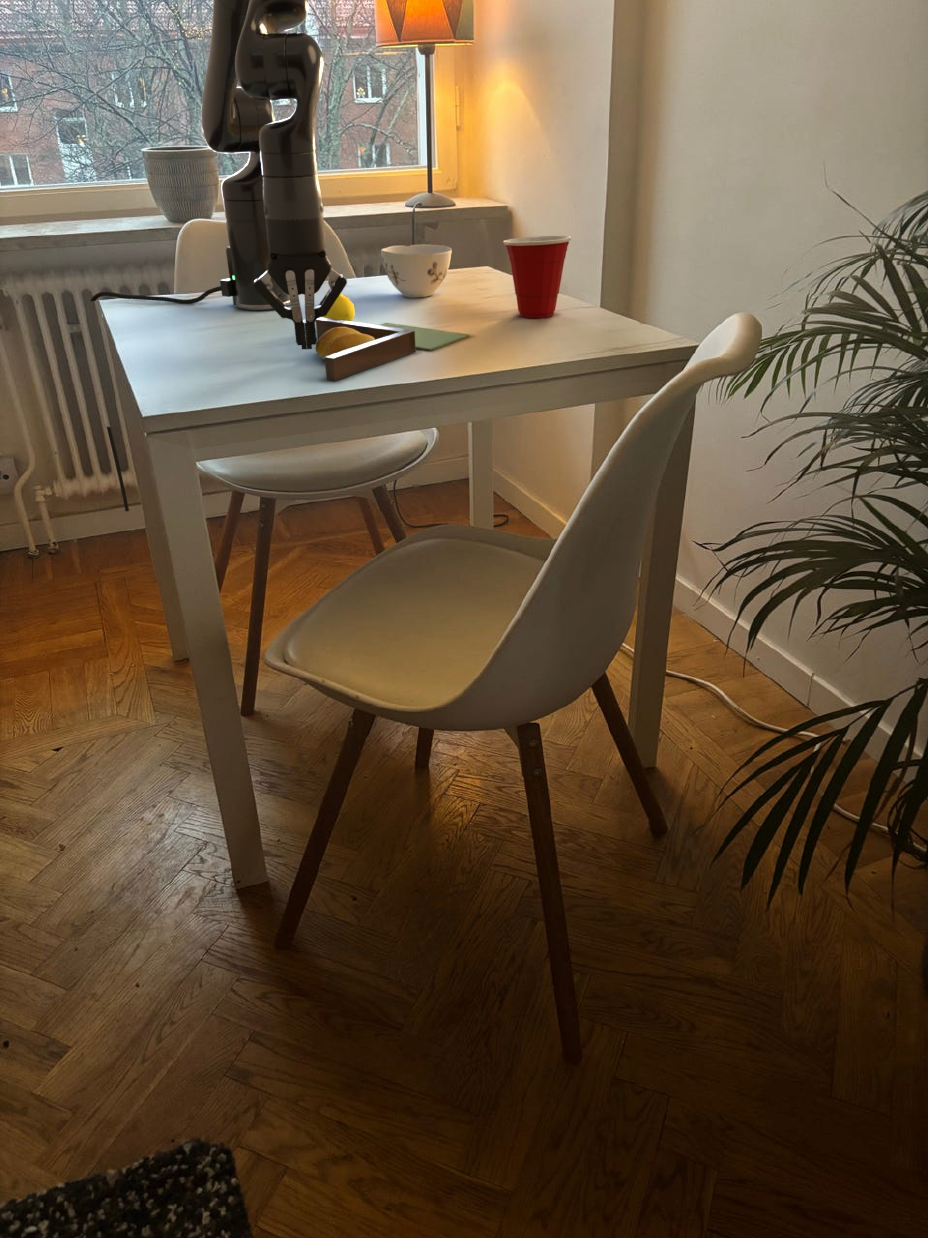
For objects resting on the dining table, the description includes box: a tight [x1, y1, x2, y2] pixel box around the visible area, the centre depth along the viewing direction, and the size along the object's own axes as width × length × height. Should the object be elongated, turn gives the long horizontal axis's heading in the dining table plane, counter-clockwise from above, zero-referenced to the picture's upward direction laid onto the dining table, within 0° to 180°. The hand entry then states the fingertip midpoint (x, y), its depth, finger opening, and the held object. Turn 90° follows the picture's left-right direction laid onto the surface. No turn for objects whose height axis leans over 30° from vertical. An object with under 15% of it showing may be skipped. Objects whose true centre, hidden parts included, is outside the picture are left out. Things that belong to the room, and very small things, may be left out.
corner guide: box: [315, 317, 417, 382], centre depth 131 cm, size 18×18×3 cm
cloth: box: [378, 322, 470, 352], centre depth 141 cm, size 16×10×1 cm, turn 56°
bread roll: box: [314, 327, 375, 361], centre depth 131 cm, size 8×9×4 cm
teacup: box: [380, 243, 453, 299], centre depth 168 cm, size 15×12×8 cm
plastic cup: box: [502, 235, 572, 319], centre depth 150 cm, size 11×11×12 cm
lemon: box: [320, 293, 356, 322], centre depth 146 cm, size 7×5×5 cm
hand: (306, 347), depth 130 cm, fingers closed
